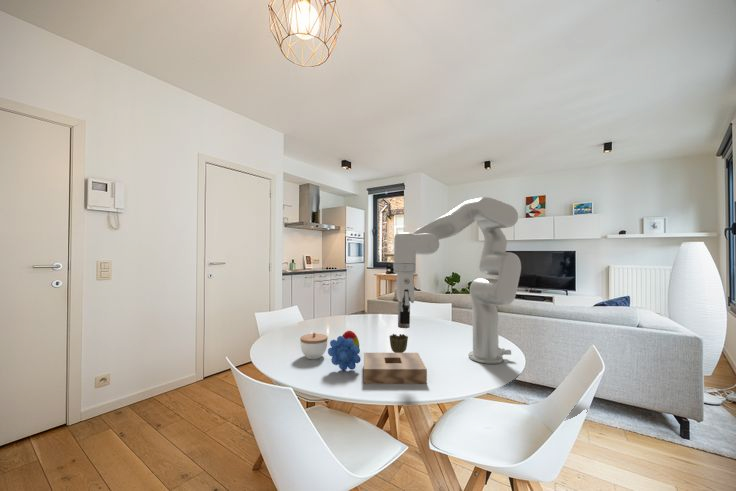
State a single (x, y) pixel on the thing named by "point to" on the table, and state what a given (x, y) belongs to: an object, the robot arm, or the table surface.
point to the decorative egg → (351, 337)
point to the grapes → (344, 353)
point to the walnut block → (394, 368)
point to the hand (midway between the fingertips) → (403, 321)
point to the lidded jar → (313, 345)
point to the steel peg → (399, 318)
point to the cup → (398, 343)
